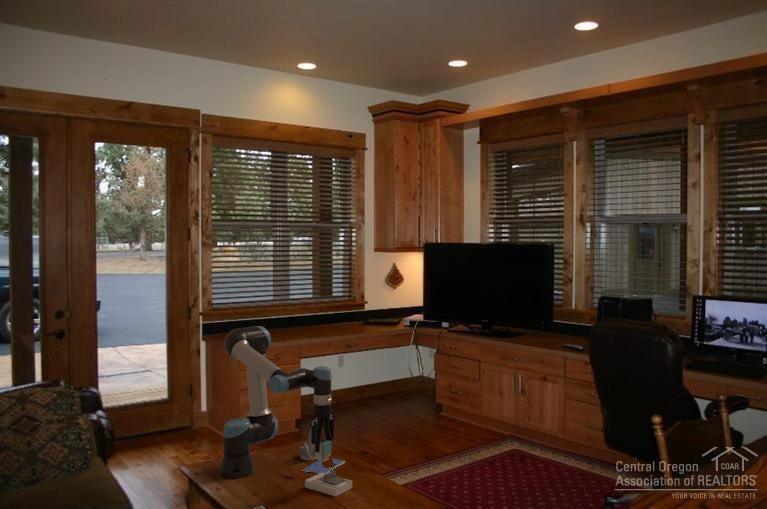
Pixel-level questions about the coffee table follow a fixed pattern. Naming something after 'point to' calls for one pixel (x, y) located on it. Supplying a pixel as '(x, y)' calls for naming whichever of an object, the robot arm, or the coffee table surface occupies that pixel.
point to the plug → (325, 449)
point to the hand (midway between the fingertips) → (323, 457)
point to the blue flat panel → (320, 468)
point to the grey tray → (327, 485)
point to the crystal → (308, 450)
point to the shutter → (332, 478)
